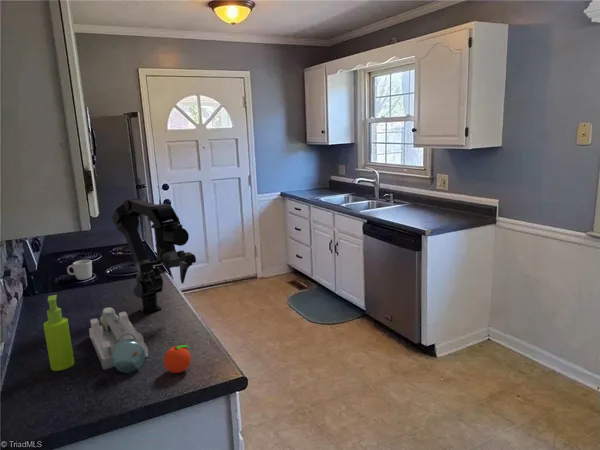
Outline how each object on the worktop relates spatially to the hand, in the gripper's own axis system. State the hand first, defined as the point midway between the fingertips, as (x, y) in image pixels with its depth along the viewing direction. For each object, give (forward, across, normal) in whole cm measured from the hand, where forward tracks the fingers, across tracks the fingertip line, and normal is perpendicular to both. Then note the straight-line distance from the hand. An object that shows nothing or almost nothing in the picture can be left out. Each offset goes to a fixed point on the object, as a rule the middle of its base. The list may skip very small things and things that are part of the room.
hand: (169, 286), depth 148 cm
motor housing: (+12, -20, -13) cm, 27 cm away
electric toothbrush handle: (+9, -20, -10) cm, 24 cm away
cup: (+12, -20, +75) cm, 79 cm away
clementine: (+12, -9, -36) cm, 39 cm away
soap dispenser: (+12, -35, -12) cm, 39 cm away
